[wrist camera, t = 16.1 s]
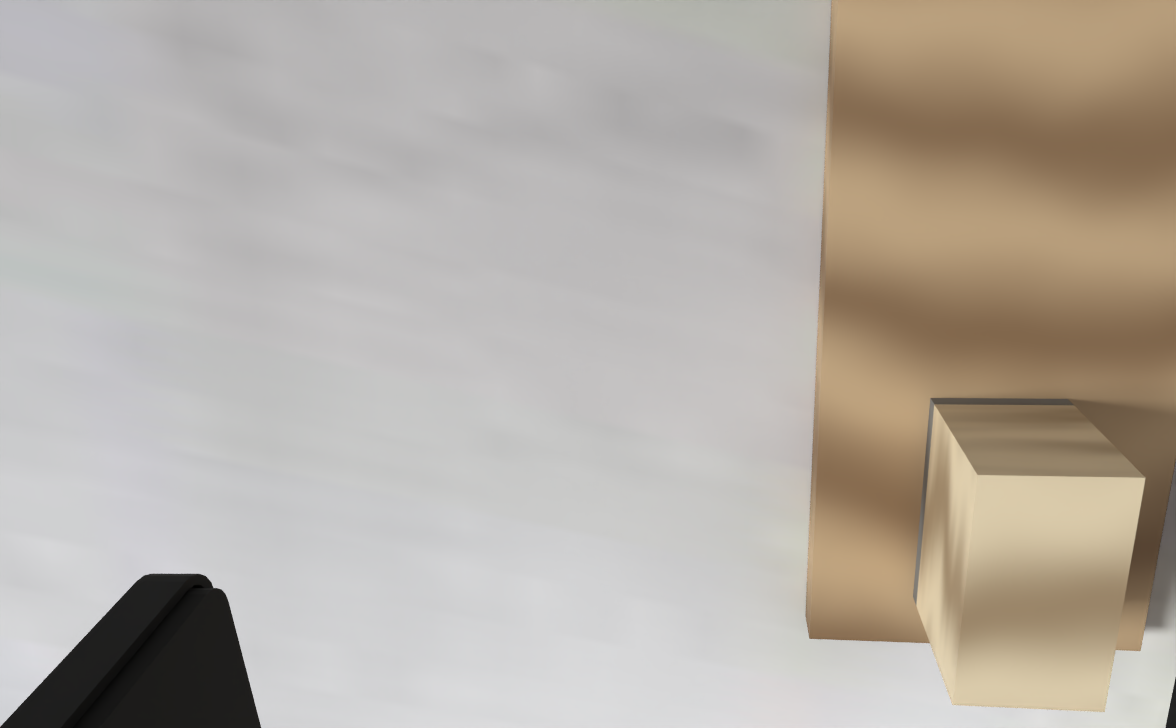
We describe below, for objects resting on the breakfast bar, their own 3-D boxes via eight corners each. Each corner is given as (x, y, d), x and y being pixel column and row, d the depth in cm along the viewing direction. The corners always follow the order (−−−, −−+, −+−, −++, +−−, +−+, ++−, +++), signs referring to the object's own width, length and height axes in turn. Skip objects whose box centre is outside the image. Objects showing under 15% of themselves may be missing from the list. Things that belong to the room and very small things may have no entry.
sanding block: (930, 397, 32) (977, 474, 27) (1067, 398, 32) (1145, 477, 26) (912, 596, 35) (952, 704, 29) (1039, 600, 34) (1104, 711, 29)
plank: (836, -102, 29) (842, -108, 27) (1255, -127, 27) (1285, -136, 26) (805, 615, 37) (809, 638, 36) (1123, 626, 36) (1140, 651, 34)
